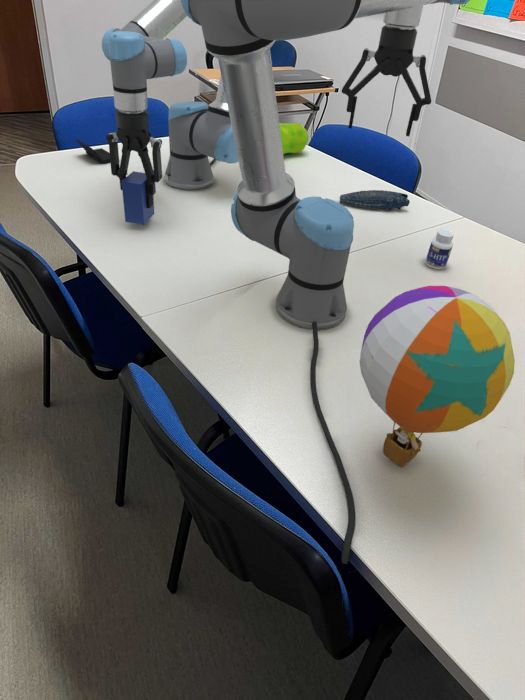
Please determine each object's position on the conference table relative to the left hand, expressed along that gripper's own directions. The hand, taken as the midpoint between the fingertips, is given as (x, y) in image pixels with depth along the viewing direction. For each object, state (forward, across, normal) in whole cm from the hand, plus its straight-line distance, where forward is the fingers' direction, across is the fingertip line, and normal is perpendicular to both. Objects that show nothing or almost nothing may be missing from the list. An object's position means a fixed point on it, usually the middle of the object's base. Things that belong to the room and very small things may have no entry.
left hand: (139, 204), depth 135 cm
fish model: (+6, -61, -36) cm, 71 cm away
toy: (+6, -69, +63) cm, 94 cm away
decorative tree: (+6, -20, -71) cm, 74 cm away
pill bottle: (+6, -78, -4) cm, 78 cm away
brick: (+4, 0, 0) cm, 4 cm away
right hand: (-23, -57, -11) cm, 63 cm away
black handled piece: (+6, +32, -41) cm, 53 cm away
